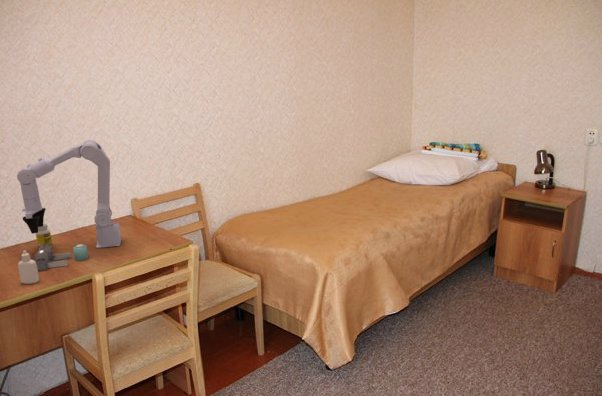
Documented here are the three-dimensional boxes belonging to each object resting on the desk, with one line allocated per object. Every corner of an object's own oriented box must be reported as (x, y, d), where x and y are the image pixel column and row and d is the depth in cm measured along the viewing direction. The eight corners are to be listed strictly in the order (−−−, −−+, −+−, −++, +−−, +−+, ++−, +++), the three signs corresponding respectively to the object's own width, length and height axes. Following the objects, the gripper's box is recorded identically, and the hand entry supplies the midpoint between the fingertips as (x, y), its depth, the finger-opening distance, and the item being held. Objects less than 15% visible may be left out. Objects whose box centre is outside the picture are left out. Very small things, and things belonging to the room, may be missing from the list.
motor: (72, 255, 188) (70, 240, 186) (66, 267, 177) (63, 252, 175) (43, 258, 185) (40, 243, 183) (34, 271, 174) (31, 255, 172)
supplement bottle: (46, 249, 194) (42, 227, 191) (35, 249, 195) (31, 227, 192) (55, 244, 199) (51, 223, 196) (44, 244, 200) (40, 222, 197)
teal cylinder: (89, 255, 188) (87, 242, 186) (87, 260, 183) (85, 246, 182) (76, 256, 187) (74, 243, 185) (73, 261, 182) (71, 248, 181)
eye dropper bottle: (31, 277, 169) (25, 247, 166) (41, 280, 167) (35, 249, 163) (19, 282, 165) (13, 251, 162) (29, 286, 163) (23, 254, 159)
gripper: (25, 193, 190) (31, 224, 194) (14, 203, 177) (21, 237, 181) (44, 192, 192) (50, 223, 196) (34, 202, 178) (41, 235, 182)
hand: (37, 229), depth 188 cm, fingers open, 7 cm apart
